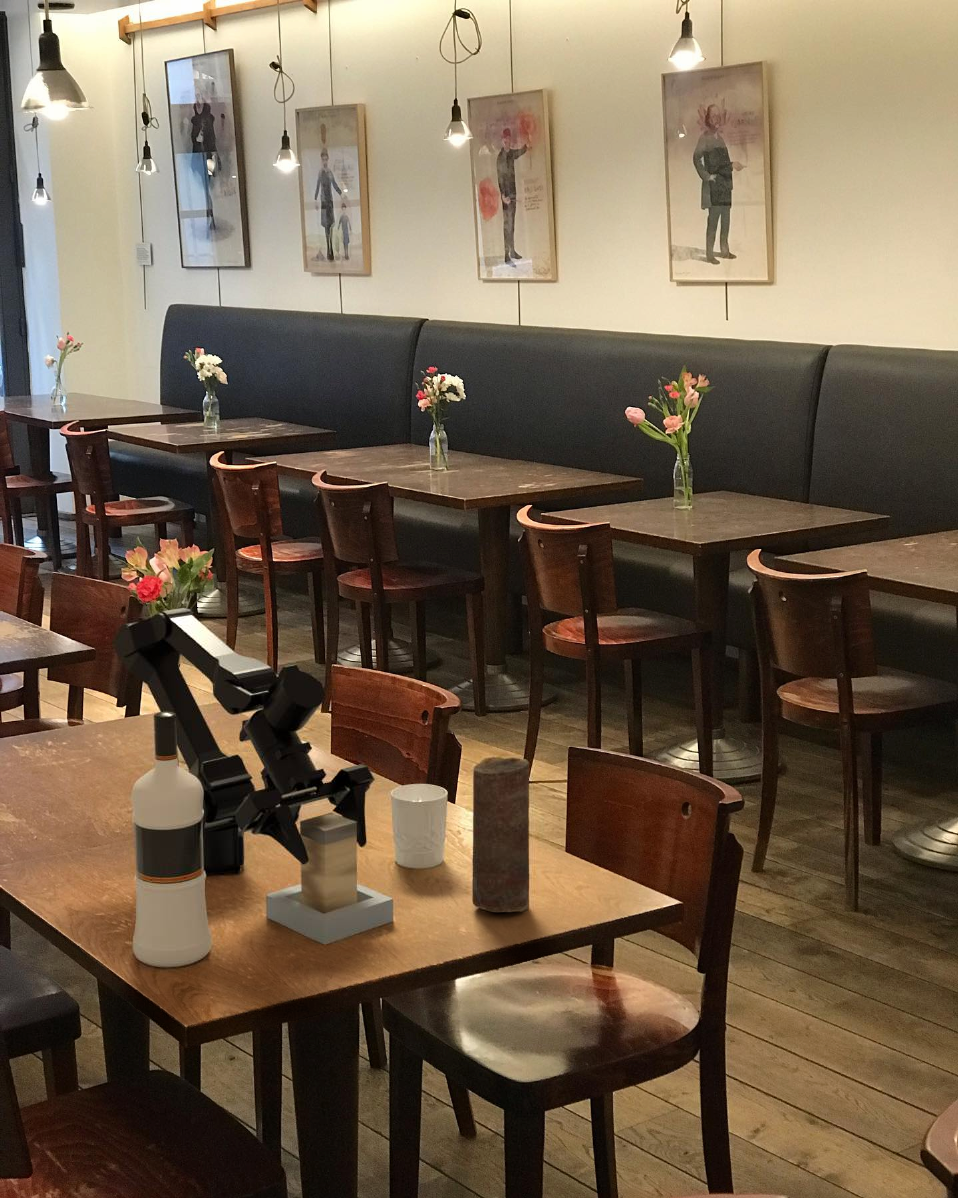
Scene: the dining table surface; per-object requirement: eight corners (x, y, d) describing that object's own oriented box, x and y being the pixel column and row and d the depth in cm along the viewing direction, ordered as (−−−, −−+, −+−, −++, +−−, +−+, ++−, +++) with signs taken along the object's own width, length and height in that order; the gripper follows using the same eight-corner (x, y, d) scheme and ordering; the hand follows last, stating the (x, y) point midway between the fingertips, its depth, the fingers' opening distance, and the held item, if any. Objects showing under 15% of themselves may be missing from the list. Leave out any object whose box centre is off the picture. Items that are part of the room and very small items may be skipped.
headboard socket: (266, 917, 204) (265, 894, 203) (334, 895, 211) (333, 873, 211) (324, 945, 195) (324, 921, 195) (393, 921, 203) (393, 898, 202)
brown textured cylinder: (509, 925, 202) (510, 772, 198) (460, 913, 205) (460, 763, 202) (539, 906, 208) (541, 757, 204) (491, 894, 212) (492, 749, 208)
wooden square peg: (301, 919, 203) (299, 821, 201) (332, 908, 207) (331, 812, 204) (326, 930, 200) (324, 831, 197) (357, 919, 203) (356, 822, 201)
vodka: (117, 956, 191) (107, 714, 186) (176, 932, 199) (168, 698, 193) (168, 977, 186) (160, 727, 180) (227, 952, 193) (221, 711, 187)
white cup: (440, 872, 220) (440, 803, 218) (384, 868, 221) (384, 799, 219) (452, 853, 227) (453, 785, 225) (399, 849, 229) (398, 782, 227)
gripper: (312, 769, 218) (364, 867, 212) (196, 798, 205) (248, 903, 199) (348, 724, 211) (403, 825, 205) (230, 752, 198) (285, 860, 192)
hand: (335, 854), depth 200 cm, fingers open, 9 cm apart
